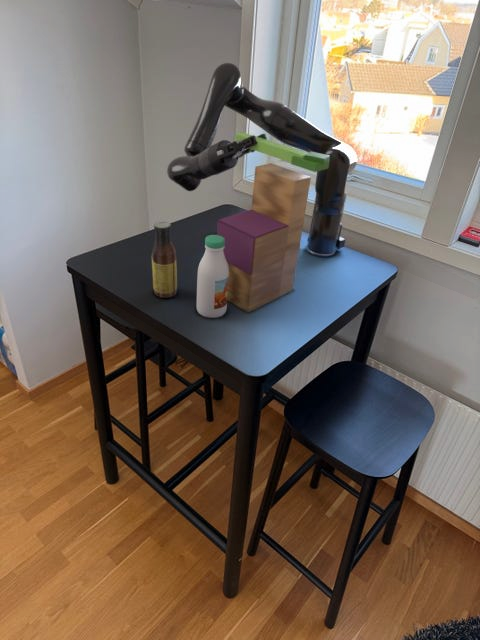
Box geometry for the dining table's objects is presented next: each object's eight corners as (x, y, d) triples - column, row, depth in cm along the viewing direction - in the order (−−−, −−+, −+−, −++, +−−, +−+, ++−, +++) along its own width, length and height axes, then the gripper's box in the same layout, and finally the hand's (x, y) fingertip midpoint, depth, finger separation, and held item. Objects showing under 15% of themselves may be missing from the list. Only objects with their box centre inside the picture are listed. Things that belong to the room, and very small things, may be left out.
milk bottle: (202, 321, 115) (205, 247, 104) (192, 304, 121) (193, 233, 110) (231, 315, 118) (236, 243, 107) (220, 300, 124) (224, 229, 113)
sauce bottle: (164, 284, 128) (163, 216, 117) (182, 292, 125) (182, 223, 114) (147, 293, 124) (144, 223, 113) (165, 302, 121) (163, 231, 110)
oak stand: (213, 292, 127) (220, 174, 109) (258, 272, 138) (271, 162, 120) (248, 312, 120) (260, 190, 102) (292, 290, 131) (311, 176, 113)
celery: (232, 144, 120) (233, 132, 118) (247, 141, 123) (248, 130, 122) (317, 172, 105) (319, 160, 103) (331, 168, 108) (334, 156, 107)
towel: (215, 256, 121) (217, 219, 115) (248, 244, 128) (251, 209, 122) (250, 275, 114) (254, 237, 108) (282, 261, 121) (287, 225, 116)
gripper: (193, 148, 124) (236, 126, 111) (231, 141, 133) (275, 120, 119) (202, 176, 125) (245, 157, 112) (239, 168, 134) (282, 150, 121)
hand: (260, 138), depth 116 cm, fingers closed on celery, 3 cm apart
